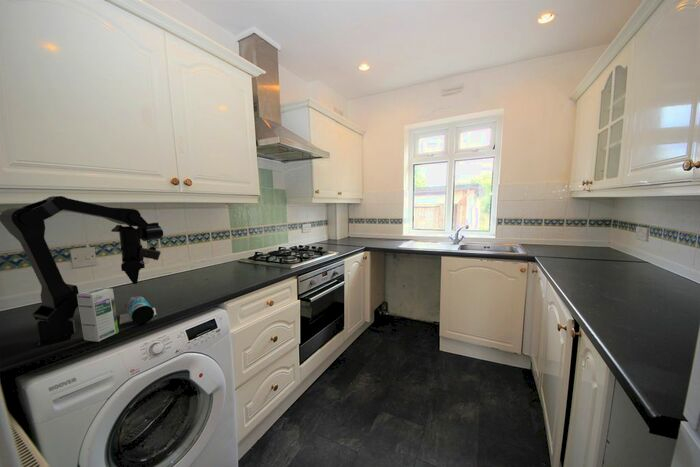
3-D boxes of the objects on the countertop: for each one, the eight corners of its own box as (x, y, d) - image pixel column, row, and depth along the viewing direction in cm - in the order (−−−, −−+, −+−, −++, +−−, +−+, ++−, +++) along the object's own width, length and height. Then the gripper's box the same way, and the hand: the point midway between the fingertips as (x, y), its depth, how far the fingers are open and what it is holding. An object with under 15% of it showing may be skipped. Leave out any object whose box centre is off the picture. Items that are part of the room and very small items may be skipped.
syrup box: (98, 342, 75) (92, 294, 74) (82, 340, 77) (76, 293, 75) (119, 332, 81) (113, 287, 79) (104, 331, 82) (98, 286, 80)
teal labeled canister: (141, 292, 97) (149, 302, 87) (148, 305, 99) (157, 317, 89) (121, 300, 93) (128, 312, 83) (129, 314, 95) (136, 327, 85)
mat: (119, 323, 87) (119, 322, 87) (120, 316, 93) (120, 315, 93) (156, 315, 93) (156, 314, 93) (154, 308, 99) (154, 307, 99)
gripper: (160, 243, 93) (164, 285, 95) (156, 238, 107) (159, 274, 109) (118, 247, 86) (124, 292, 88) (120, 241, 100) (124, 280, 102)
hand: (135, 283), depth 97 cm, fingers closed
